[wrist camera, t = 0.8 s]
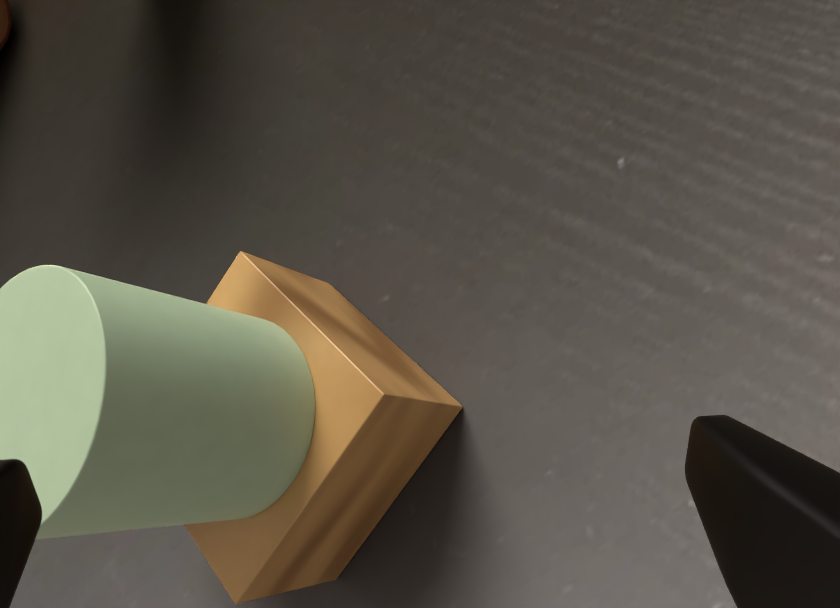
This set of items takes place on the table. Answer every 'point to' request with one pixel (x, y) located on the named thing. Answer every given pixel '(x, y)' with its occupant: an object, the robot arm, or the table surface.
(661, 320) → the table surface
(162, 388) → the pale green cylinder
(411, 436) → the stand
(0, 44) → the wooden toy train
